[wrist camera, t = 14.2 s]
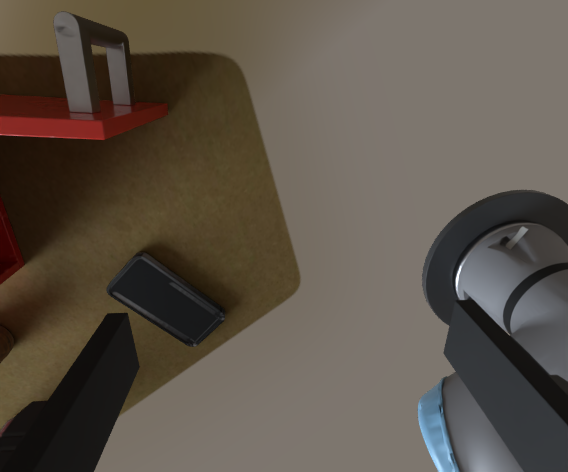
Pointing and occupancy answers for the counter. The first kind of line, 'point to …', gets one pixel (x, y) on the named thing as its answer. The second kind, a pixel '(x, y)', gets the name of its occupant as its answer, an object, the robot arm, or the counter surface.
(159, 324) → the phone
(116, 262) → the counter surface
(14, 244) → the cabinet
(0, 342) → the utensil holder
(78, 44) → the red cabinet door
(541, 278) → the robot arm
